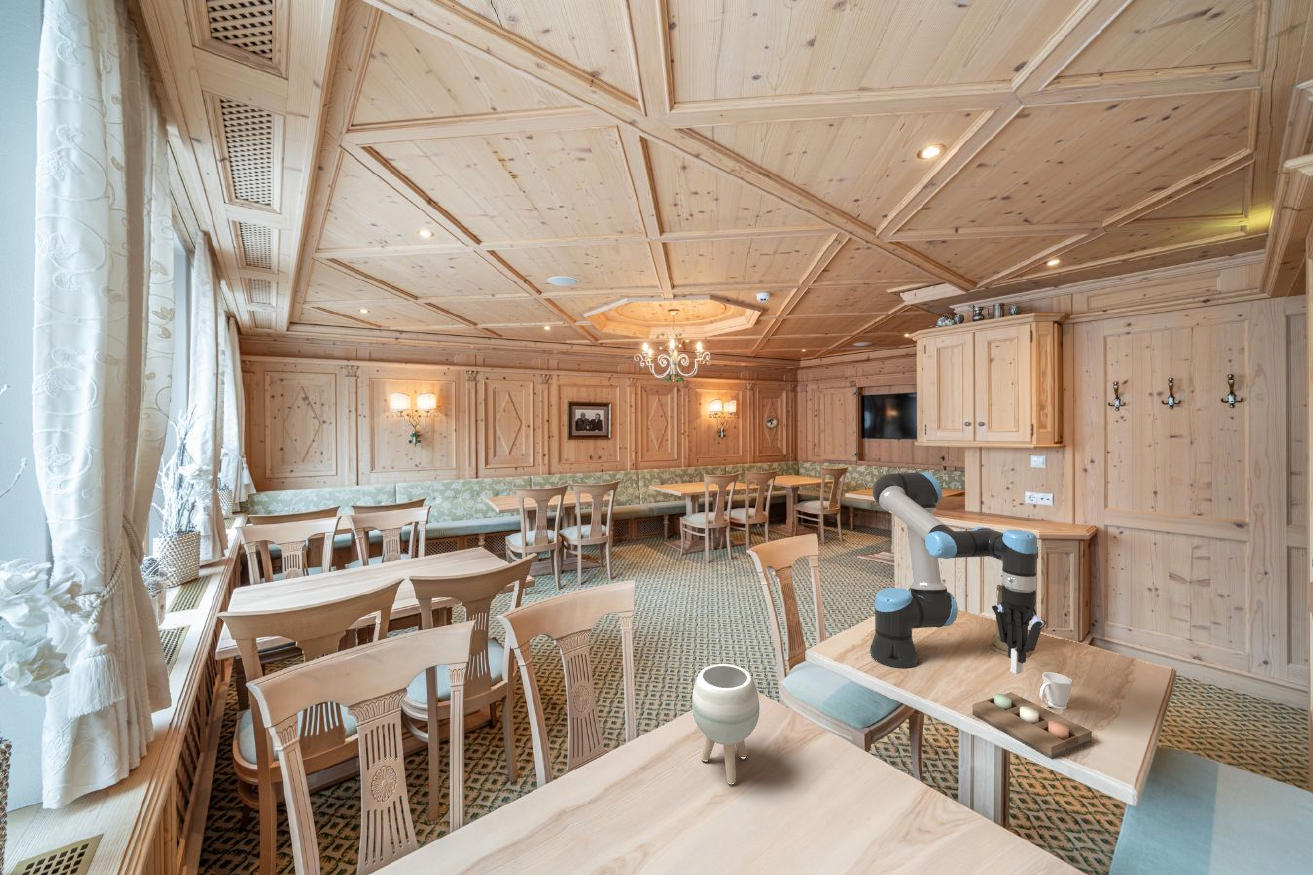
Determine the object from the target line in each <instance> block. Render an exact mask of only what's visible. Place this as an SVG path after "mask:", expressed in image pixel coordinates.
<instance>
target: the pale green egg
mask: <svg viewBox="0 0 1313 875" xmlns="http://www.w3.org/2000/svg"><path fill="white" fill-rule="evenodd" d="M1004 694H1005V693H1004ZM1004 694H1003V693H995V694H994V695H993V698H994V704H995V705H997V706H999V707H1000V708H1002V709H1004V710H1008V709H1011V698H1010V697H1008V696H1006V695H1004Z"/></svg>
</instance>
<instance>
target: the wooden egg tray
mask: <svg viewBox="0 0 1313 875" xmlns="http://www.w3.org/2000/svg"><path fill="white" fill-rule="evenodd" d="M1004 695H1006V696H1008V697H1010V698H1011V709H1008V710H1004V709H1002V708H1000V707H999V706H997V705H995V704H994V697H990V698H988V699H984V700H981V701H979V702H975V703H972V716H974V717H975V718H977V719H980V720H981V721H983V722H985V723H986V724H988V725H990V726H992V727H993V728H996V729H997V730H999V731H1001V732H1003V733H1004V734H1006V735H1008V736H1009V737H1011V738H1012V739H1015V741H1016V740H1017V741H1018V742H1020V743H1022V744H1023V745H1025V746H1027V747H1029V748H1030V749H1032V750H1035V751H1036V752H1038V753H1040V754H1041V755H1043V756H1045V757H1046V758H1048V759H1050V760H1053V759H1055V758H1057V757H1060V756H1062V755H1066V754H1067V753H1071V752H1073V751H1075V750H1077V749H1080V748H1082V747H1085V746H1087V745H1090V744H1091V743H1092V741H1093V740H1092V739H1093V736H1092V735H1093V734H1092V733H1093V732H1092V730H1091V729H1088V728H1086V727H1084V726H1082V725H1080V724H1078V723H1076V722H1073V721H1071V720H1069V718H1066V717H1063V716H1061V715H1060V714H1057V713H1055V712H1053V711H1051V710H1050V709H1046V708H1045V707H1042V706H1040V705H1038V704H1036V703H1035V702H1032V701H1030V700H1028V699H1025V697H1022V696H1020V695H1018V694H1016V693H1014V692H1007V693H1004ZM1020 707H1030V708H1033V709H1035V710H1037V711H1038V713H1039V723H1036V724H1031V723H1029V722H1027V721H1025V720H1024V719H1022V718H1020ZM1049 721H1058V722H1061V723H1063V724H1065V725H1067V726H1068V728H1069V738H1068V739H1065V740H1062V739H1060V738H1058V737H1056V736H1054V735H1052V734H1050V733H1048V722H1049Z"/></svg>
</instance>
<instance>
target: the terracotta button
mask: <svg viewBox="0 0 1313 875" xmlns="http://www.w3.org/2000/svg"><path fill="white" fill-rule="evenodd" d="M1048 733H1050V734H1052V735H1054V736H1056V737H1058V738H1060V739H1062V740H1065V739H1068V738H1069V728H1068V726H1067V725H1065V724H1063V723H1061V722H1058V721H1049V722H1048Z"/></svg>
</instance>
